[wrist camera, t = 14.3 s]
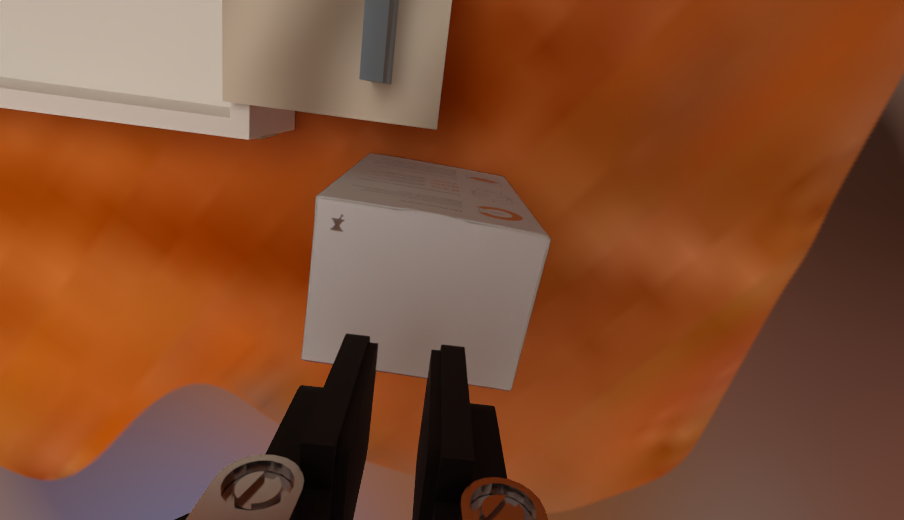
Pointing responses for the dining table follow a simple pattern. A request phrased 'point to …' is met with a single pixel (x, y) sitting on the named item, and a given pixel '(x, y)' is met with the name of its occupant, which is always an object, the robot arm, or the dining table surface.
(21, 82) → the carton
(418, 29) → the lid panel
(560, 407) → the dining table surface
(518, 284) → the small box
